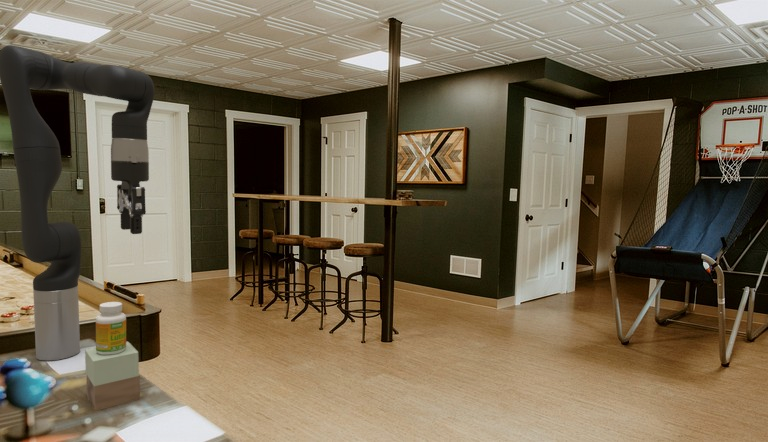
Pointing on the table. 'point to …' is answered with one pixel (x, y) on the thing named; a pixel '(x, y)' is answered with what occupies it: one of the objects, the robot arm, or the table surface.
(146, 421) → the table surface
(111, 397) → the tower base
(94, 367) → the tower top
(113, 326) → the supplement bottle
